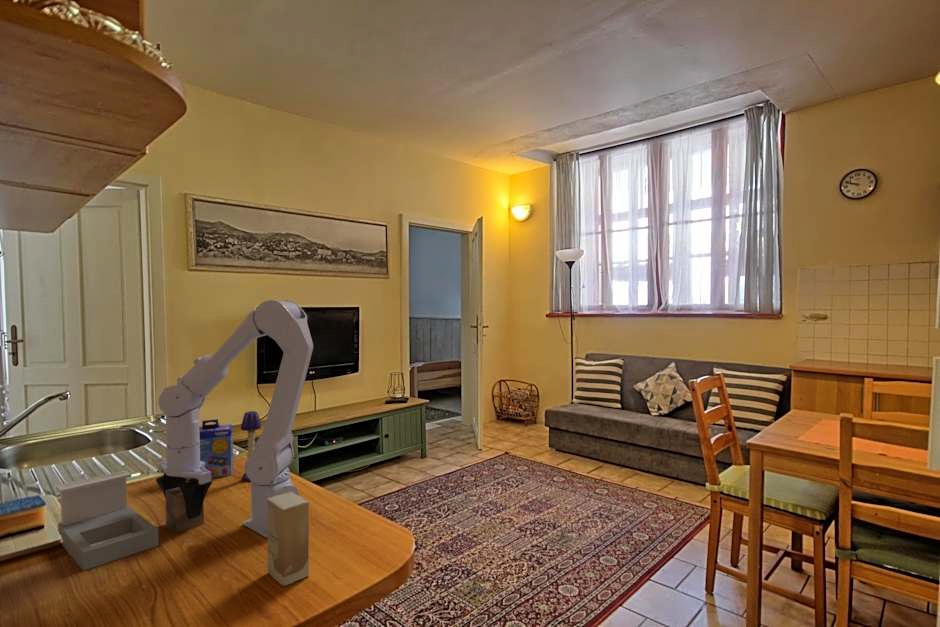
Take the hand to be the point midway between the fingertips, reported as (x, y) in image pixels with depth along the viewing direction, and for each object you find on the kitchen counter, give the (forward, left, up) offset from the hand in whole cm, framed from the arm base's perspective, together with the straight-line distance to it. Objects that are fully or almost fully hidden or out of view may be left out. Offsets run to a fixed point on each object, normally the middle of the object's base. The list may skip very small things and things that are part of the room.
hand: (184, 513), depth 99 cm
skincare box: (-33, -3, -2) cm, 33 cm away
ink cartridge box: (+26, -16, -2) cm, 31 cm away
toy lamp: (+15, -21, -2) cm, 26 cm away
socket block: (+3, +12, -2) cm, 13 cm away
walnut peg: (0, 0, -2) cm, 2 cm away
